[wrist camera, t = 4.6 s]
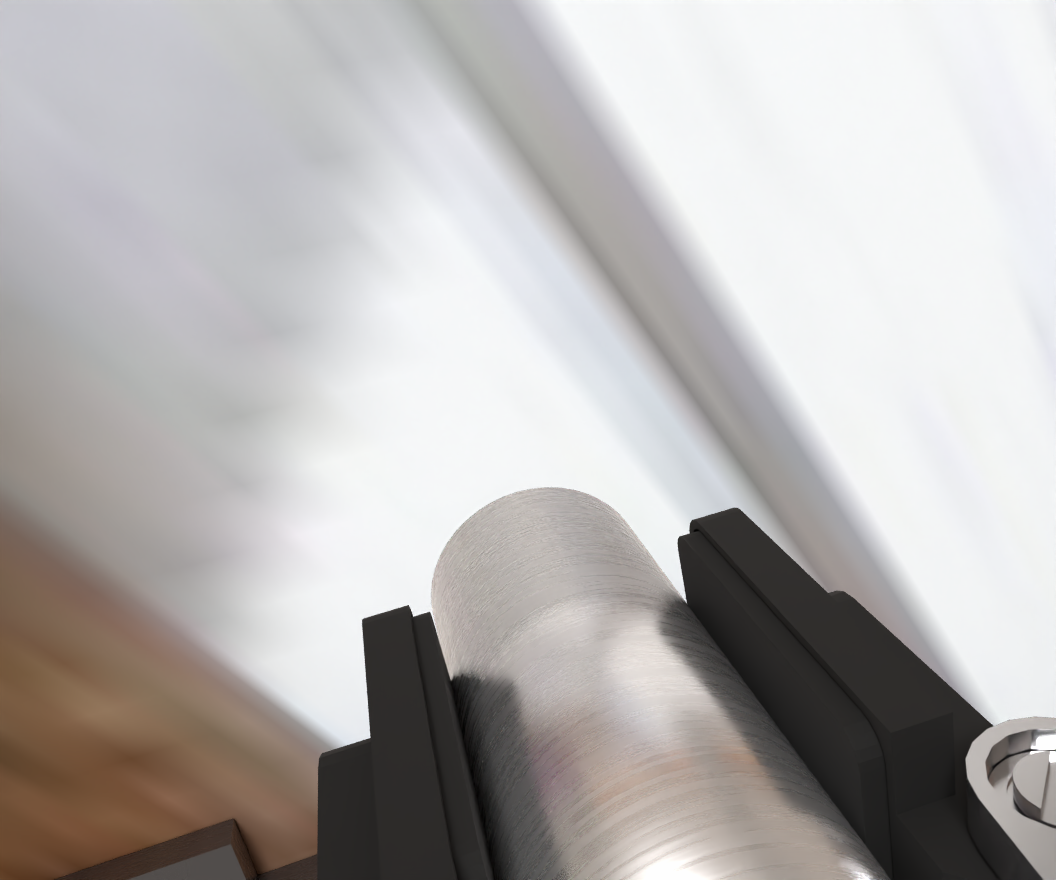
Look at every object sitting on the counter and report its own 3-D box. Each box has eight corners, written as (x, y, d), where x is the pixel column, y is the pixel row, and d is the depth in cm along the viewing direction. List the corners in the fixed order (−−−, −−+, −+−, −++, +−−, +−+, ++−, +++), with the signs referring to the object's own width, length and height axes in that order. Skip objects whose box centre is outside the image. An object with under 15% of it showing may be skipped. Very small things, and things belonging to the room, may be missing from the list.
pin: (624, 460, 12) (1110, 1024, 5) (657, 644, 13) (1089, 1330, 6) (406, 524, 12) (549, 1245, 4) (460, 706, 13) (648, 1528, 5)
